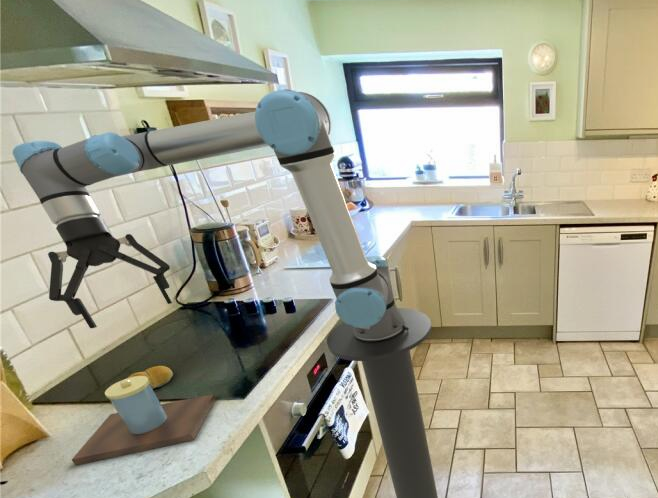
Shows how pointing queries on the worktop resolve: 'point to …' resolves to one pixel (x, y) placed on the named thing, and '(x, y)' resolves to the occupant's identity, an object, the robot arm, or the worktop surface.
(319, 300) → the worktop surface
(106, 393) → the butter crock
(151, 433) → the board
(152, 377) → the bread roll
